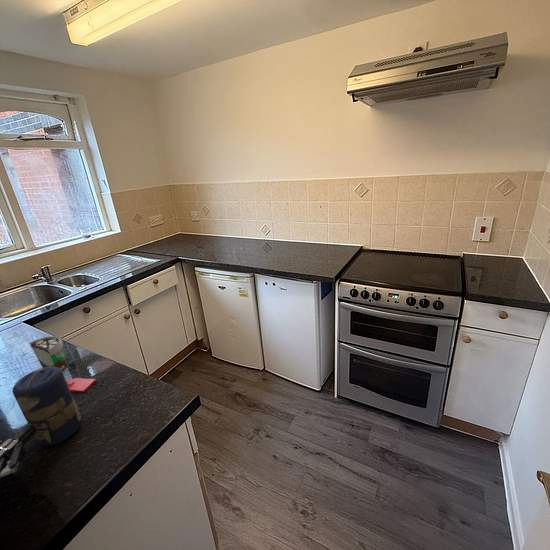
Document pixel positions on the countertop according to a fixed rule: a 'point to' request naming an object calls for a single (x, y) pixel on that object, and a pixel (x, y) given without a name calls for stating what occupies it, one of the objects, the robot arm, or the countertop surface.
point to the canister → (48, 405)
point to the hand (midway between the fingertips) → (32, 428)
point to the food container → (49, 352)
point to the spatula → (80, 384)
